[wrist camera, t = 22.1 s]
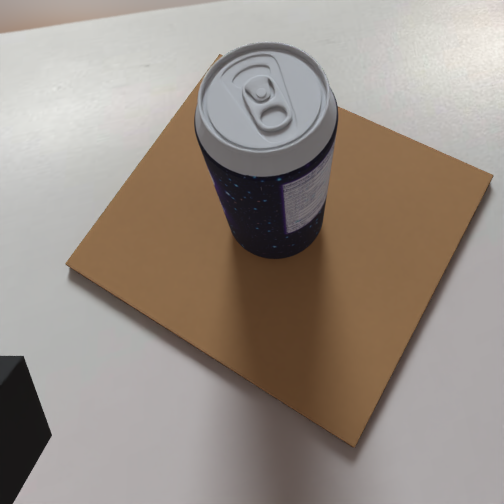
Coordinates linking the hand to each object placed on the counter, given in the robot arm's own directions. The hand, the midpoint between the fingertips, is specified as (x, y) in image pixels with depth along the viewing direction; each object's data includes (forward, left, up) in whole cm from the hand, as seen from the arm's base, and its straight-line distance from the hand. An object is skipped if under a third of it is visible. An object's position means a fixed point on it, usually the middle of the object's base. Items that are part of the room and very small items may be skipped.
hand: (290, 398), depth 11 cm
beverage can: (+6, -9, -14) cm, 18 cm away
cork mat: (+6, -9, -15) cm, 18 cm away
